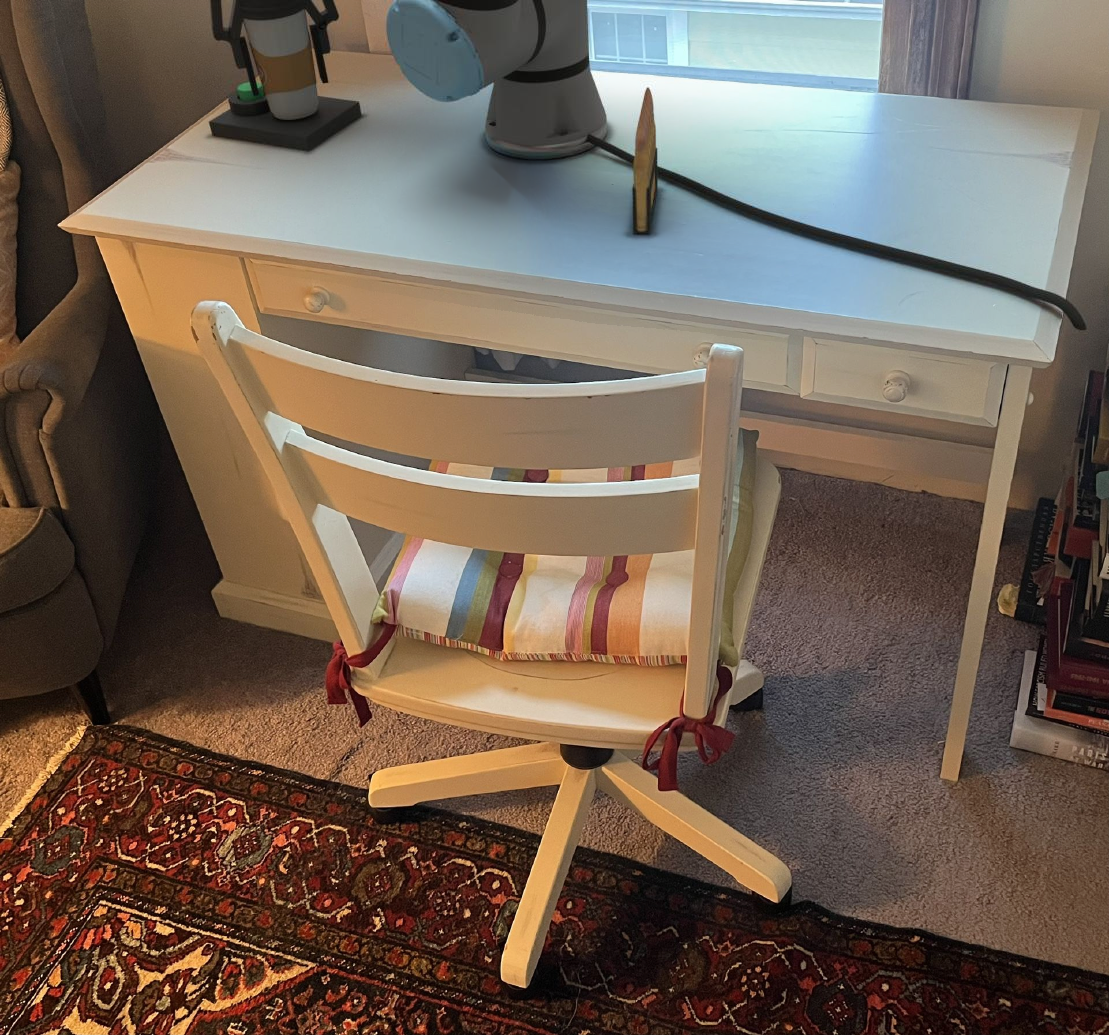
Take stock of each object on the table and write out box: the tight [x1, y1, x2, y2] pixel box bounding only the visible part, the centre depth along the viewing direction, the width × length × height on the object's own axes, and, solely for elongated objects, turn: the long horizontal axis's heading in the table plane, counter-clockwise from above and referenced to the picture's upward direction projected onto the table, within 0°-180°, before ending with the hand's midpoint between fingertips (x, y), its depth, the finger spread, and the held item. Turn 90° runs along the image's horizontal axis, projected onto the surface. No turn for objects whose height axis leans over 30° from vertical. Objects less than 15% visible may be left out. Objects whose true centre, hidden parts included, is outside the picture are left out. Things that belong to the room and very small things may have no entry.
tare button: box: [237, 81, 264, 101], centre depth 145 cm, size 3×3×2 cm
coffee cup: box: [240, 0, 319, 120], centre depth 138 cm, size 8×8×15 cm
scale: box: [208, 87, 363, 152], centre depth 144 cm, size 16×12×4 cm
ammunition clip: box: [631, 87, 659, 235], centre depth 116 cm, size 11×2×12 cm, turn 172°
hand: (289, 85), depth 141 cm, fingers closed on coffee cup, 8 cm apart
